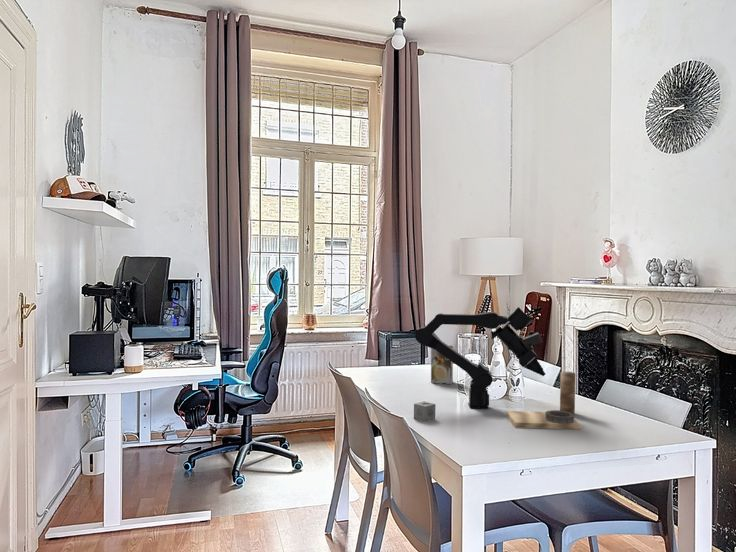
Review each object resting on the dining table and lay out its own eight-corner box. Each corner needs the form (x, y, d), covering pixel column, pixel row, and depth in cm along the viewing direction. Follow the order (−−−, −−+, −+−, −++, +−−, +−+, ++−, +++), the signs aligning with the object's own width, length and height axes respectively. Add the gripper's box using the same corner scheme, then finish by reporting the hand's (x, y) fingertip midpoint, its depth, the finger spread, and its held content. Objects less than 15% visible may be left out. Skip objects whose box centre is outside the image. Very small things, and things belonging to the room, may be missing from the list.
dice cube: (435, 419, 173) (435, 404, 173) (425, 422, 170) (425, 406, 169) (423, 416, 177) (423, 401, 177) (413, 418, 173) (413, 403, 173)
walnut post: (562, 414, 180) (562, 373, 180) (558, 410, 185) (558, 371, 185) (576, 415, 180) (577, 374, 180) (572, 411, 185) (572, 371, 185)
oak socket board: (514, 427, 165) (515, 416, 165) (506, 415, 179) (506, 404, 179) (580, 429, 163) (580, 418, 163) (566, 417, 177) (566, 406, 177)
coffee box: (453, 381, 233) (453, 345, 233) (451, 384, 227) (451, 347, 227) (432, 380, 236) (433, 344, 236) (430, 383, 230) (430, 346, 229)
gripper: (529, 327, 177) (564, 361, 174) (526, 322, 195) (557, 353, 192) (505, 349, 178) (538, 383, 176) (504, 342, 197) (534, 373, 194)
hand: (543, 372), depth 184 cm, fingers open, 9 cm apart
